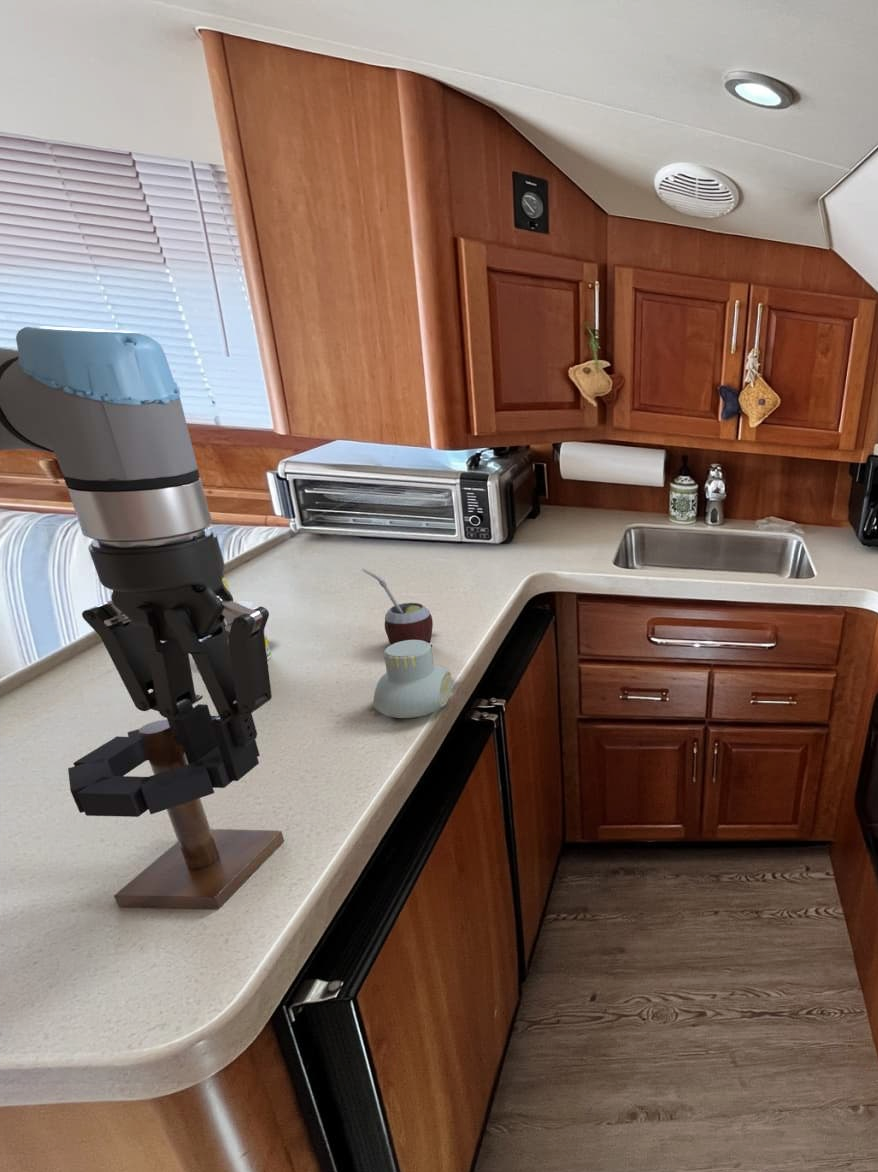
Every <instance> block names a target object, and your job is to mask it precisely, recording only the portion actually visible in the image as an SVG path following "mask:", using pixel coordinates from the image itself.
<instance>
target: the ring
mask: <svg viewBox="0 0 878 1172" xmlns="http://www.w3.org/2000/svg"><path fill="white" fill-rule="evenodd" d="M217 716H218V715H211V718H212V719H214V718H215V717H217ZM139 729H140V728H137V729H134V730H130V731H128V732H127V736H116V737H114V738H112V739H110V740H109V741H107V742H105V743H104V744H102V745H100V746H98V747H97V748H95V749H94V750H92V751H90V752H89V753H87V754H86V755H84V756H82V757H80V758H79V759H77V760H76V761H74V762H73V766H72V767H68V768H67V771H68V781H69V790H70V793H71V796H72V798H73V800H74V802H75V805H76V807H77V809H78V812H79V814H81V813H84V814H85V816H86V817H125V818H126V817H130V818H139V817H140V816H141V815H143V814H144V813H146V812H147V811H149V814H150V815H155V814H157V813H160V812H163V811H167V809H169V808H172V807H175V806H178V805H181V804H184V803H187V802H190V801H193V800H196V799H199V798H200V799H201V798H204V797H207V796H210V795H213V794H215V790H214V789H225V788H226V787H228V786H229V785H230V784H231V783H232V782H233V781H229V777H228V774H227V771H226V768H225V765H224V762H223V760H222V756H221V753H220V750H219V747H218V746H217V747H215V748H214V749H213V750H211V751H210V752H209V753H207V754H206V755H204V756H203V757H202V758H200V759H199V760H198V761H196V762H195V763H192V764H188V765H185V766H182V767H179V768H175V769H172V770H169V771H165V772H162V773H159V774H156V775H154V774H153V775H149V776H135V775H133V776H132V775H127V774H128V773H130V772H131V771H134V769H136V768H138V767H139V766H140V765H142V764H144V763H145V762H147V761H149V760H148V757H147V754H146V751H145V749H144V746H143V743H142V740H141V738H140V735H139ZM256 740H257V739H255V740H253V744H254V748H255V751H256V755H257V758H259V757H260V751H259V747H258V744H257V741H256ZM126 775H127V776H126Z"/></svg>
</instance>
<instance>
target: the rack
mask: <svg viewBox="0 0 878 1172" xmlns="http://www.w3.org/2000/svg"><path fill="white" fill-rule="evenodd" d="M138 729H139V735H140V738H141V740H142V743H143V746H144V749H145V751H146V754H147V757H148V760H147V761H148V762H149V765H150V768H151V770H152V773H153V775H156V774H159V773H162V772H165V771H169V770H172V769H175V768H179V767H182V766H185V765H188V761H187V758H186V755H185V752H184V749H183V746H182V745H178V744H177V743H176V742H175V740H174V738H173V735H172V731H171V729H170V726H169V723H168V720H167V719H161V720H155V721H151V722H149V723H147V724H145V725H143V726H141V727H140V728H138ZM166 812H167V815H168V817H169V821H170V823H171V826H172V829H173V832H174V834H175V837H176V839H177V841H176V842H175V843H174V844H173V845H172V846H171V847H169V848H168V849H167V850H166V851H165V852H164V853H162V854H161V855H160V856H159V857H158V858H156V859H155V860H154V861H153V862H151V864H149V865H148V866H147V867H146V868H144V870H142V872H140V873H138V875H136V876H135V877H134V878H132V880H130V881H129V882H128V883H127V884H126V885H125V886H123V887H122V888H121V889H120V890H119V891H117V893H115V894H114V895H113V897H114V900H115V902H116V905H117V907H118V908H138V909H139V908H140V909H141V908H142V909H196V910H197V909H198V910H199V909H200V910H201V909H202V910H203V909H204V910H205V909H207V910H210V909H211V910H219V909H221V907H222V906H223V905H224V904H225V903H227V901H228V900H229V899H230V898H231V897H232V896H233V895H234V894H235V893H236V892H237V891H238V890H239V889H240V888H241V887H242V886H243V885H244V884H245V883H246V881H248V880H249V878H250V877H251V876H253V874H255V872H256V871H257V870H258V869H260V868H261V866H262V865H263V864H264V863H266V861H267V860H268V859H269V858H270V857H271V856H272V855H273V853H275V852H276V850H278V849H279V847H281V845H283V844H284V842H285V838H284V835H283V831H282V830H268V829H267V830H266V829H263V830H262V829H234V828H233V829H231V828H230V829H229V828H227V829H226V828H225V829H224V828H211V826H210V824H209V820H208V818H207V814H206V812H205V808H204V806H203V803H202V800H201V798H199V799H196V800H193V801H190V802H187V803H184V804H181V805H178V806H175V807H172V808H169V809H166Z"/></svg>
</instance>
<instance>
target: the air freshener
mask: <svg viewBox="0 0 878 1172" xmlns="http://www.w3.org/2000/svg"><path fill="white" fill-rule="evenodd" d="M383 658H384V664H385V670H386V673H385V674H383V675H382V676H381V677H379V680H378V682H377V684H376V686H375V690H374V694H373V705H374V708H375V710H376V711H378V712H379V713H381V714H383V715H386V716H387V717H392V718H397V719H413V718H419V717H423V716H427V715H430V714H432V713H435V712H437V711H438V710H440V709H442V708H443V707H445V706H446V704H447V703H448V700H449V698H450V694H451V691H452V675H451V672H450V671H449V670H448V669H446V668H445V667H442V666H440V665H436V664H435V662H434V656H433V651H432V646H431V645H430V644H429V643H427V642H425V641H422V640H406V641H401V642H397V643H394V644H392V645H391V644H390V645H388V646H387V647H386V648H385V649H384V650H383Z"/></svg>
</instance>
